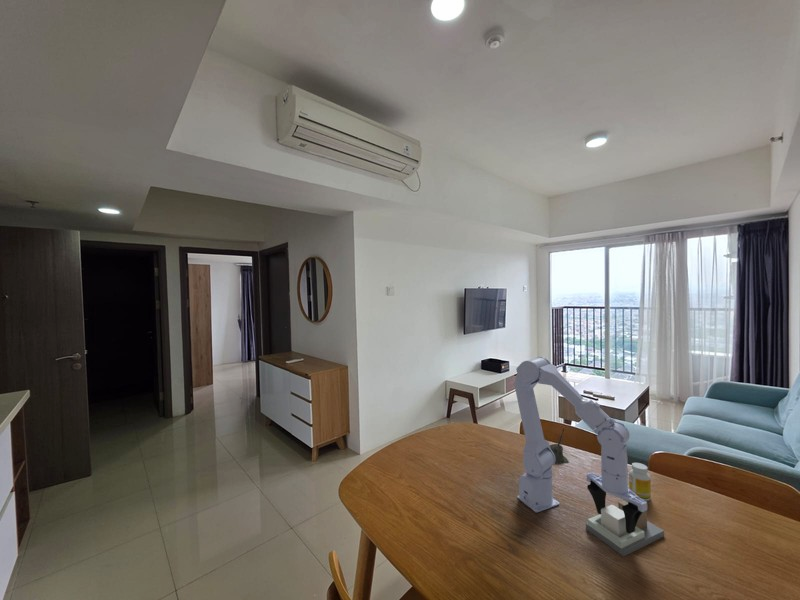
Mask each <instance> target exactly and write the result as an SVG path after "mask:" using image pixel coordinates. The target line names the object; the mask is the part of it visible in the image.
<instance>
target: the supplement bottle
mask: <svg viewBox="0 0 800 600" xmlns="http://www.w3.org/2000/svg"><path fill="white" fill-rule="evenodd" d="M648 472H649V468H648V466H647V465H646V464H644V463H640V462H632V463H631V469H630V470H629V472H628V481H629V482H628V489H629V490H631V491H632V492H633V493H634V494H636V495H637V496H638V497H639V498H641V499H642V500H644V501H646V502H648V501H650V500H651V498H652V497H651V495H652V494H651V493H652V491H651V490H652V489H651V485H652V484H651V483H652V482H651V480H652V479H651V475H650V473H648Z"/></svg>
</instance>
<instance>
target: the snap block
mask: <svg viewBox="0 0 800 600" xmlns="http://www.w3.org/2000/svg"><path fill="white" fill-rule="evenodd" d="M601 525H602V526H603V527H605V528H606V529H608V530H609V531H611V532H612V533H614V534H615V535H616V536H618V537H619V538H620V537H622V536H624V535H627V534H629V533H627V532H626V520H625V515H624V511H622V510H621V509H619V508H618V506H615V505H614V504H610V505H607V506H605V508H602V509H601Z"/></svg>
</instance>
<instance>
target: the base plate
mask: <svg viewBox="0 0 800 600" xmlns="http://www.w3.org/2000/svg"><path fill="white" fill-rule="evenodd" d="M617 503H618V506H617V508H619V509H621V510H622V511H623V509H622V506H624V505H628V502H626V501H624V500H623V499H622V500H621V501H618V502H617ZM585 529H586V531H588V532H590V533H591V534H592V535H594V536H595V537H596V538H598V539H599V540H600V541H602V542H603V543H605V544H606V545H607V546H609V547H610V548H611V549H613V550H614V551H616V553H618V554H620V555H621V556H622V557H626V556H628V555H630V554H632V553H634V552H636V551H637V550H640V549H642V548H643V547H647V545H650V544H652V543H654V542H656V541H658V540H660V539H662V538H664V537H665V530H664V529H662V528H660V527H659V526H658V525H655V524H653V523H652V522H650V521H649V520H648V509H647V510H646V511H644V512H643V513H642V514H641V516H640V517H639V519H638V521H637V524H636V527H635V531H634V532H632V533H630V534H627V535H624V536H622V537H620V538H619V537H618V536H616V535H615V534H614V533H612V532H611V531H609V530H608V529H606V528H605V527H603V526H602V525H601V514H597V515H595V516H592V517H590V518H587V522H586V523H585Z"/></svg>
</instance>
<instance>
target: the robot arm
mask: <svg viewBox="0 0 800 600" xmlns="http://www.w3.org/2000/svg"><path fill="white" fill-rule="evenodd" d="M537 384H540V385H541V384H542V385H547V386H551V388H553V389H554V390H556V391H557V392H558V393H559V394H560V395H561V396H562V397H564V398H565V399H566V400H567V401H568V402H569V403H570V404H571V405H572V406H573V407H574V412H575V414H576V415H577V417H579V418H580V420H582V421H583V422H584V423H585V425H587V426H588V427H589V429H591V430H592V431H593V432H594V433H595V434H596V439H597V442H598V443H599V444H600V447H601V451H600V454H601V455H600V460H601V461H600V462H601V466H600V469H601V471H600V472H601V475H599V474H596V473H594V472H589V473H586V481H587V482H588V483H589V484H587V490H588V491H589V493H590V495H591V498H592V499H593V502H594V505H595V509H596V512H597V515H599V514H601V509H602V508H605V507H606V497H607V494H608V495H611V496H612V497H615V498H618V499H621V500H622V501H623V500H624V501H626V502H628V505H624V506H622V509H623V511H624V515H625V520H626V532H627V533H629V534H630V533H632V532H634V531H635V527H636V524H637V521H638V519H639V517H640V516H641V514H642V513H643V512H644V511H646V510H647V511H648V501H644V500H642V499H641V498H639V497H638V496H637V495H636V494H634V493H633V492H632V491H631V490H629V482H628V481H629V472H628V470H629V469H628V468H629V467H628V454H627V453H628V449H627V443H628V442H629V440H630V432H629V430H628V428H627V427H626V425H624V423H622V422H620V421H618V420H615V418H614V417H610V416H609V415H608V414H607V413H606V412H605V411H604V410H603V409H602V408H601V407H600V406H601V405H600V403H599V402H597V401H595V402H594V401H593V400H592V399H588V398H584V397H583V396H582V395H581V394H580V393H579V392H578V391H577V390H576V389H575V387H574V386H572V384H571V383H570V382H569V381H568V380H567V379H566V378H565V377H564V376H563V375H562V374H561V373H560V372H559V369H558V368H557V367H556V365H554V364H553V363H552V362H550V360H549V359H547V358H546V357H544V356H537V357H535V358H532V359H529V360H524V361H522V362H521V363H520V364H519V365H517V367H516V375H515V380H514V383H513V385H514V389H515V395H516V398H517V403H518V408H519V414H520V419H521V423H522V427H523V433H524V437H525V443H524V446H523V449H522V452H523V457H522V466H523V468H524V470H525V472H524V473H523V474H522V475H520V476H519V479H518V493H519V494H518V495H517V497H516V498H517V499H518V500H520V501H521V502H522V503H523V504H524V505H526V506H527V507H528V508H530V509H531V510H532V511H533V512H534V513H540V512H543V511H545V510H548V509H551V508H553V507H556V506H559V505H560V502H559V501H558V500H556V498H555V497H554V498H553V471H552V469H553V468H552V466H554V465H555V464H556V463H555V455H554V453H553V452H552V450H551V448H550V445H551V444H550V442H549V441H548V440H546V438H545V436H544V431H543V428H542V423H541V418H540V414H539V413H540V412H539V408H538V404H537V399H536V395H535V390H534V388H535V387H536V386H537Z"/></svg>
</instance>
